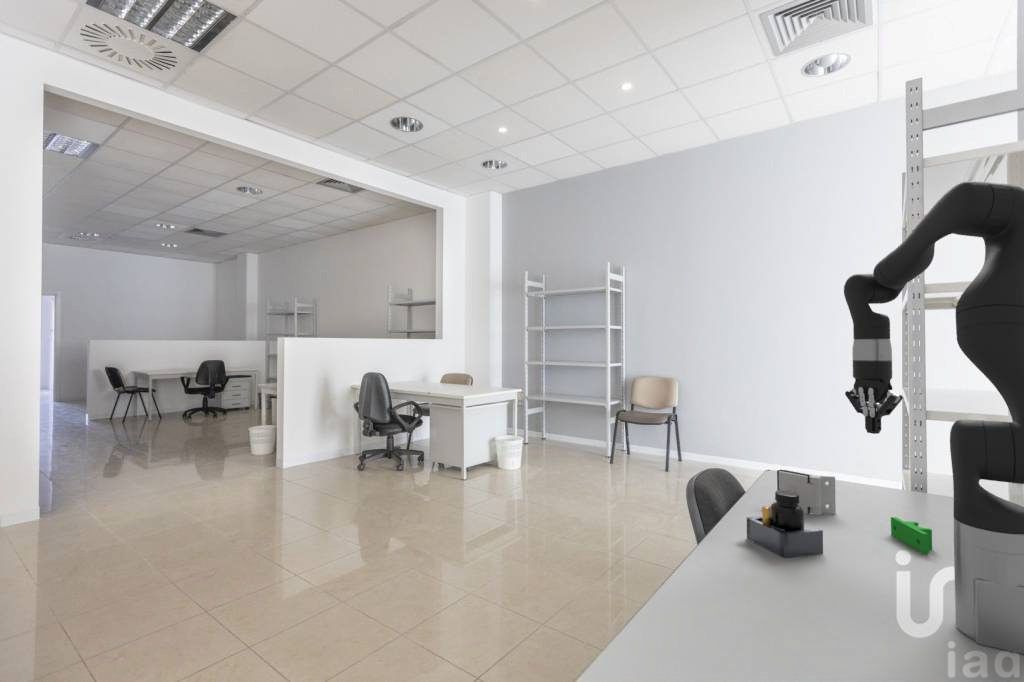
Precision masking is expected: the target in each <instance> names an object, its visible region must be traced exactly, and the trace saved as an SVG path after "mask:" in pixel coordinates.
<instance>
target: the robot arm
mask: <svg viewBox="0 0 1024 682" xmlns="http://www.w3.org/2000/svg"><path fill="white" fill-rule="evenodd" d="M951 234H954V235H959V236H967V237H974V238H975V237H976V238H982V239H983V241H984V249H985V250H984V251H985V253H984V262H983V266H982V268H981V269H980V271H979V272H978V274H977V275H976V276H975V278H973V280H972V281H971V282H970V283H969V285H968V286H967V287H966V288H965V290H963V293H962V294H961V295H960V297H959V299H958V301H957V303H956V306H955V330H956V331H955V332H956V333H955V334H956V341H957V344H958V347H959V349H960V350H961V351H962V353H963V354H964V355H965V357H967V359H968V361H970V362H971V363H972V364H973V365H974V366H975V367H976V368H977V369H978V370H979V371H980V372H981V373H982V374H983V375H984V376H985V378H986V379H988V380H989V382H990V383H991V384H992V385H993V386H994V387H995V389H996V391H997V392H998V393H999V394H1000V396H1001V397H1002V400H1003V401H1004V402H1005V405H1006V406H1007V408H1008V411H1009V413H1010V416H1011V420H1012V421H1009V422H1008V421H997V420H980V419H958V420H956V421H955V422H953V424H952V426H951V429H950V433H949V450H950V460H951V470H952V471H951V472H952V481H953V482H952V484H953V485H952V486H953V488H952V489H953V557H954V560H953V562H954V563H953V564H954V565H953V568H954V570H953V571H954V602H955V603H954V606H955V607H954V608H955V609H954V610H955V612H954V613H955V626H956V625H957V626H956V628H957V627H958V628H959V629H958V628H957V629H958V630H959V631H960V632H961V631H962V632H961V633H962V634H964V635H966V636H967V637H969V638H971V639H972V640H974V641H975V643H977V644H979V645H982V646H987V647H991V648H996V649H1000V650H1006V651H1009V652H1014V653H1019V654H1023V655H1024V506H1022V505H1019V504H1017V503H1016V502H1012V501H1009V500H1007V499H1004V498H1002V497H999V496H997V495H995V494H994V493H991V492H990V491H988V490H987V489H985V488H984V487H982V485H981V484H980V480H984V481H994V482H1001V483H1011V484H1020V485H1021V484H1022V485H1024V188H1023V187H1021V186H1019V185H1015V184H1009V183H999V182H989V181H977V180H975V181H974V180H969V181H966V180H965V181H962V182H959V183H956V184H955V185H953V186H952V187H950V189H948V190H947V191H946V192H945V193H944V194H943V195H942V196H941V197H940V198H939V199H938V200H937V201H936V202H935V204H934V205H933V206H932V207H931V208H930V209H929V211H928V212H926V214H925V215H924V217H922V219H921V220H920V221H919V223H918V224H917V225H916V226H915V227H914V229H913V230H912V231H911V232H910V233H909V235H908V236H907V237H906V238H905V239H904V241H902V242H901V243H900V244H899V245H898V246H897V247H896V248H894V249H893V250H892V251H890V253H888V254H887V255H886V256H884V257H883V258H882V259H881V260H880V261H879V262H877V264H876V265H875V266H874V269H873V272H872V273H855V274H852V275H850V276H849V277H848V278H847V279H846V281H845V283H844V285H843V295H844V300H845V302H846V304H847V307H848V310H849V313H850V317H851V319H852V324H853V328H852V329H853V344H852V377H853V379H854V380H855V381H854V383H853V388H852V389H850V390H848V391H847V390H846V391H845V396H846V398H847V399H848V401H849V402H850V404H851V405H852V407H853V409H854V410H855V411H856V413H857V414H862V416H863V417H864V429H865V431H866V433H868V434H873V435H874V434H875V435H876V434H880V433H881V431H882V418H883V417H886V416H890V415H891V414H892V413H893V412H894V410H895V409H896V408H897V406H898V405H899V404H900V403H901V402H902V400H903V395H902V394H897V393H896V392H895V391H894V390H893V386H892V384H891V380H892V379H893V347H892V344H891V321H890V317H889V316H888V315H887V314H884V313H879V312H875V311H873V310H872V308H871V306H870V304H872V305H874V304H875V305H877V304H878V305H879V304H887V303H889V302H892V301H894V300H896V299H897V298H898V297H899V295H900V294H901V293H902V291H903V289H904V288H905V287H906V285H907V284H908V283H909V282H911V281H913V280H914V279H915V278H917V277H918V276H920V275H921V274H923V272H925V271H926V270H927V269H928V268H929V267H930V266H931V264H932V262H933V259H934V257H935V247H936V243H937V242H939V240H941V239H943V238H945V237H947V236H949V235H951Z"/></svg>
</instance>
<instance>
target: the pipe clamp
mask: <svg viewBox="0 0 1024 682" xmlns="http://www.w3.org/2000/svg"><path fill="white" fill-rule="evenodd" d="M890 536H891V537H893V538H896V539H897V540H899V541H900V542H902V543H904V544H906V545H908V546H909V547H910V548H913V549H914V550H915V551H918V552H919V553H920V554H923V555H929V554H930V551H929V550H933V529H931V528H929V527H928V528H926V527H922V526H919V522H917V521H904V520H902V519H900V518H899V517H897V516H890Z"/></svg>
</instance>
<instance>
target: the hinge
mask: <svg viewBox="0 0 1024 682" xmlns="http://www.w3.org/2000/svg"><path fill="white" fill-rule="evenodd" d="M776 479H777V482H776V483H777V485H776V486H777V490H776V491H778V490H785V491H791V492H795V493H798V494H799V501H800V503H799V504H798V505H799V506H801V507H802V508H803V510H804V512H806V513H805V514H810V513H812V514H811V515H813V514H816V515H815V516H822V515H821V514H827V513H835V514H834V515H836V514H837V513H836V508H837V507H836V506H837V505H836V504H837V503H836V476H833V475H832V476H831V475H815V474H809V473H805V472H799V471H794V470H788V469H779V470H777V471H776ZM826 483H828V484H826ZM827 505H828V507H826V506H827ZM809 510H810V511H809Z"/></svg>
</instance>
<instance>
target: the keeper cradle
mask: <svg viewBox="0 0 1024 682" xmlns="http://www.w3.org/2000/svg"><path fill="white" fill-rule="evenodd" d="M770 507H771V506H765V505H764V506H761V509H762V511H761V514H762V515H760V516H747V517H746V539H747V540H748V539H749V540H748V541H750V540H751V541H750V542H752V541H753V542H752V543H754V544H756V545H757V546H759V547H762V548H764V549H766V550H767V551H769V552H771V553H773V554H775V555H777V556H779V557H781V558H783V559H787V558H795V557H796V558H797V557H798V558H799V557H805V556H806V557H807V556H812V555H813V556H814V555H820V554H824V532H823V531H824V530H823V529H820V528H811V529H810V528H809V529H804V530H799V531H790V532H783V531H780V530H778V529H776V528H774V527H772V526H770Z"/></svg>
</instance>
